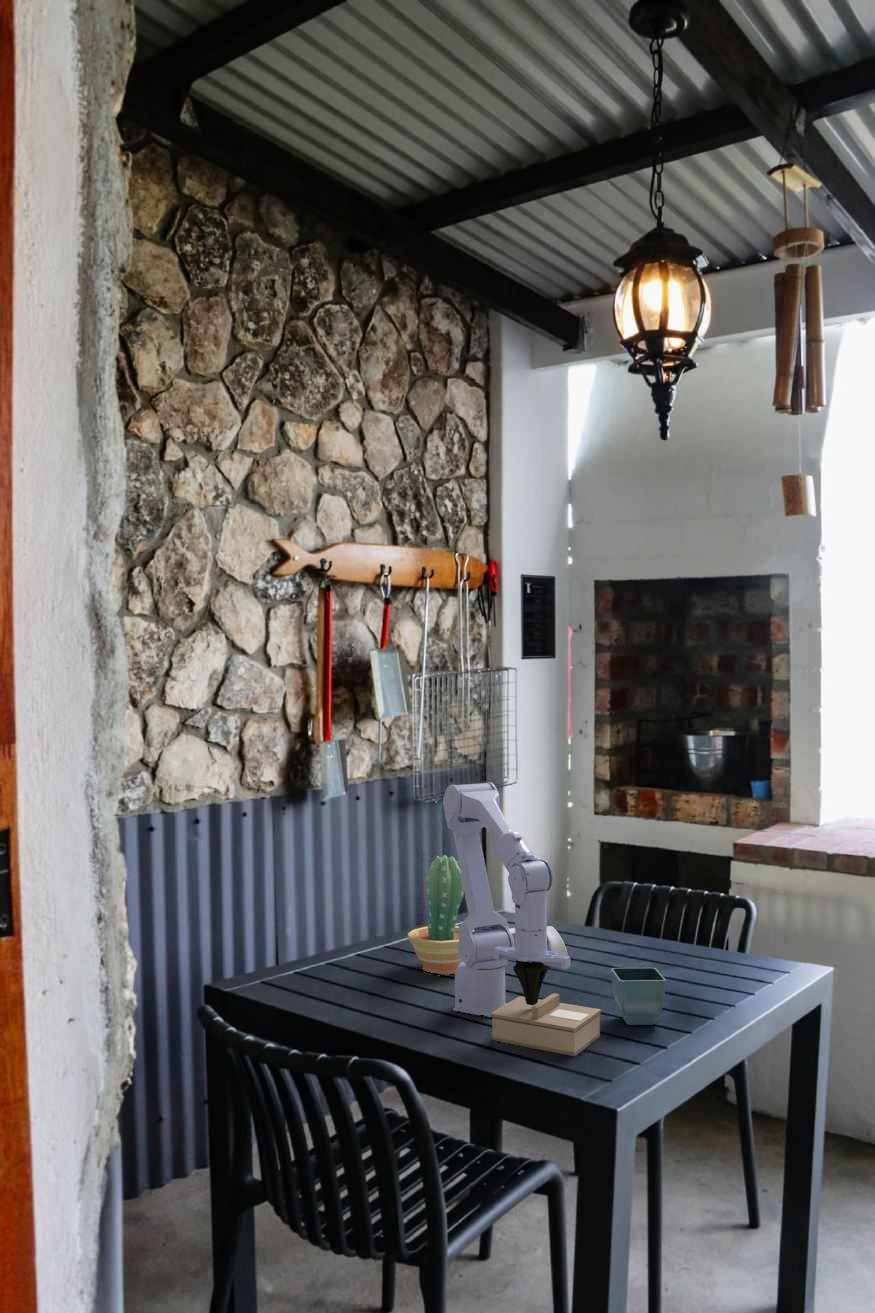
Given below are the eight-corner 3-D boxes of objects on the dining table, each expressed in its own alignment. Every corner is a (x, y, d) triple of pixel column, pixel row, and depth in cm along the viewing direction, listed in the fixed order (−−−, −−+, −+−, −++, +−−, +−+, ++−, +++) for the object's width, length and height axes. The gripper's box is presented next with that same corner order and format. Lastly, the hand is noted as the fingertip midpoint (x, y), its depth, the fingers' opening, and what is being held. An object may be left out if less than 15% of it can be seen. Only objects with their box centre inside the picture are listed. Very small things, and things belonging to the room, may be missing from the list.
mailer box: (492, 1040, 193) (492, 1018, 193) (520, 1023, 202) (520, 1001, 202) (574, 1056, 185) (574, 1033, 185) (599, 1037, 194) (599, 1014, 194)
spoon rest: (491, 944, 261) (490, 914, 261) (533, 938, 266) (533, 909, 266) (538, 968, 239) (538, 936, 239) (584, 962, 244) (583, 930, 244)
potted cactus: (478, 979, 231) (477, 862, 231) (406, 980, 231) (404, 863, 231) (477, 960, 246) (475, 850, 246) (409, 960, 246) (408, 850, 246)
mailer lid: (490, 1016, 193) (490, 1002, 193) (519, 999, 203) (519, 985, 203) (574, 1032, 184) (574, 1016, 184) (601, 1012, 194) (601, 998, 194)
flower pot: (656, 1013, 207) (655, 966, 207) (667, 1029, 198) (666, 980, 198) (610, 1014, 207) (610, 967, 207) (620, 1030, 198) (619, 981, 198)
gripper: (485, 928, 195) (486, 1003, 195) (558, 937, 188) (559, 1015, 188) (503, 920, 201) (504, 993, 201) (574, 929, 194) (575, 1004, 194)
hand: (532, 1003), depth 195 cm, fingers closed
